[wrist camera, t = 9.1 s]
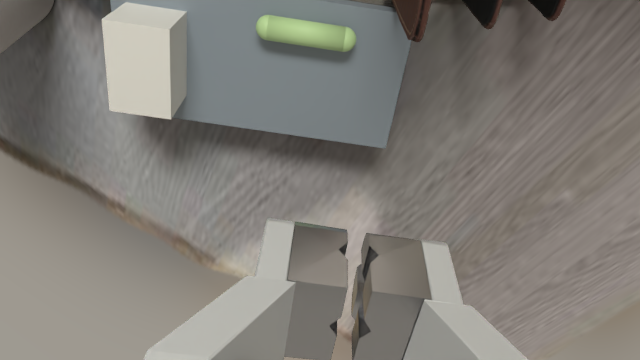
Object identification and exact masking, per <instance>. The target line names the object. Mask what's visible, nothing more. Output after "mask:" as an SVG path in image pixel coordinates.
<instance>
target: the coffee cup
mask: <svg viewBox="0 0 640 360" xmlns="http://www.w3.org/2000/svg"><path fill="white" fill-rule="evenodd" d="M53 3H54V0H0V54H1V53H2V52H3V51H5V50H6V49H7V48H8V47H9V46H11V45H12V44H13V43H14V42H16V41H17V40H18V39H19V38H20V37H22V36H23V35H24V34H25V33H26V32H28V31H29V30H30V29H31V28H33V27H34V26H35V25H36V24H37V23H39V22H40V21H41V20H42V19H44V18H45V17H46V16H47V15H48V13H49V12H50V10H51V8H52V6H53Z"/></svg>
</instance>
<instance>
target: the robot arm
mask: <svg viewBox="0 0 640 360" xmlns="http://www.w3.org/2000/svg"><path fill="white" fill-rule="evenodd" d="M293 231H294V232H293ZM292 238H293V239H292ZM347 243H348V233H347V230H345V229H338V228H332V227H326V226H320V225H314V224H307V223H301V222H295V226H294V222H293V221H287V220H280V219H274V218H268V219H267V221H266V225H265V229H264V234H263V239H262V243H261V248H260V253H259V257H258V262H257V267H256V271H255V276H245V277H244V278H243V279H241V280H240V281H239V282H237V283H236V284H235V285H233V286H232V287H231V288H229V289H228V290H227V291H225V292H224V293H223V294H222V295H220V296H219V297H217V299H215V300H214V301H212V302H211V303H209V304H208V305H207V306H206V307H204V308H203V309H202V310H200V311H199V312H198V313H197V314H195V315H194V316H192V317H191V318H190V319H188V320H187V321H186V322H184V323H183V324H182V325H180V326H179V327H178V328H176V329H175V330H174V331H172V332H171V333H170V334H169V335H167V336H166V337H164V338H163V339H162V340H161V341H159V342H158V343H157V344H155V345H154V346H153V347H151V348H150V349H149V350H147V353H146V355H145V358H144V360H283V359H284V357H293V358H303V359H313V360H331V357H332V353H333V349H334V345H335V340H336V336H337V320H338V319H339V318H341V315H342V311H343V306H344V302H345V297H346V293H347V288H348V260H347V259H346V257H345V253H346V248H347ZM361 254H362V264H361V265H359V266H358V267H357V270H356V275H355V279H354V285H353V292H352V317H353V318H354V319H355V324H354V328H353V332H352V360H528V359H527V358H526V357H525V356H524V355H523V354H522V353H521V352H520V351H519V350H518V349H516V348H515V347H514V346H513V345H512V344H511V343H510V342H509V341H508V340H507V339H506V338H505V337H504V336H503V335H502V334H501V333H500V332H499V331H498V330H497V329H495V328H494V327H493V326H492V325H491V324H490V323H489V322H488V321H487V320H486V319H485V318H484V317H483V316H482V315H481V314H480V313H479V312H478V311H477V310H476V309H474V308H473V307H472V306H469V305H464V303H463V300H462V296H461V292H460V288H459V285H458V281H457V277H456V274H455V270H454V266H453V262H452V259H451V255H450V251H449V247H448V245H447V244H446V243H445V242H440V241H431V240H422V239H419V240H415V239H407V238H400V237H392V236H385V235H378V234H370V233H366V235H365V238H364V241H363V245H362V249H361Z"/></svg>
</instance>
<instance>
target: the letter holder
mask: <svg viewBox="0 0 640 360" xmlns="http://www.w3.org/2000/svg"><path fill="white" fill-rule="evenodd" d="M431 1H432V0H392V2H393V5H394V7H395V9H396V12H397V15H398V18H399V20H400V23H401V25H402V27H403V29H404V32H405V34H406V36H407V39H408V40H413V41H415V42H419V41H421V40H422V37H423V35H424V32H425V28H426V24H427V20H428V16H429V11H430V6H431ZM462 1H463V2H464V3H465V5H466V6H467V7H468V8H469V10H470V11H471V12H472V14H473V15H474V16H475V17H476V18H477V19H478V21H479V22H480V23H481V24H482V26H483V27H484V28H486V29H491V28H492V27H493V26H494V24H495V23H496V21H497V18H498V15H499V11H500V8H501V5H502V1H503V0H462ZM528 1H529V2H530V3H531V4H532V5H534V6H535V7H536V8H537V9H538V10H539V11H540V12H541V13H542V14H543V16H544V17H546V18H547V19H548V20H550V21H554V20H556V19H557V18H558V16H559V15H560V13H561V11H562V9H563V7H564V5H565V2H566V0H528Z"/></svg>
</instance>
